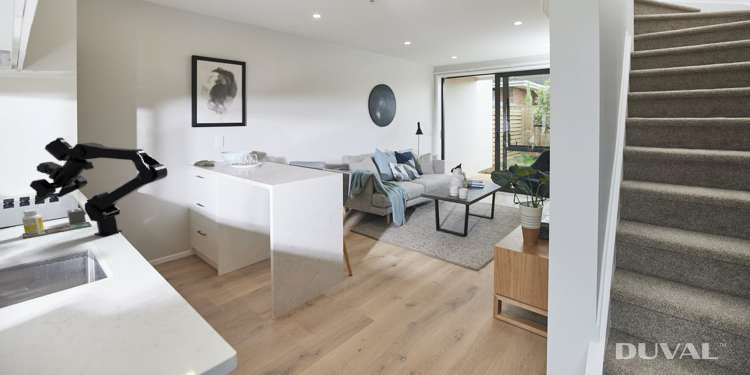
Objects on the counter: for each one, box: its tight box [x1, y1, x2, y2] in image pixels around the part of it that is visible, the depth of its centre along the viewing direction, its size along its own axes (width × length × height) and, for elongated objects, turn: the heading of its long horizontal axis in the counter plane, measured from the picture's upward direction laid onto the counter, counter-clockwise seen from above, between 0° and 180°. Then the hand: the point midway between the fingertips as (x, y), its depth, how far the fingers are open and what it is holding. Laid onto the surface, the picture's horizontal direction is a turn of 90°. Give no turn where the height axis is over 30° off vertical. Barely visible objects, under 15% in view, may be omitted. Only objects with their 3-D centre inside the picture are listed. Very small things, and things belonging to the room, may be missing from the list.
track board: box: [22, 221, 93, 240], centre depth 143 cm, size 20×7×1 cm, turn 135°
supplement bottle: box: [22, 208, 45, 237], centre depth 138 cm, size 5×5×10 cm
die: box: [66, 207, 87, 225], centre depth 154 cm, size 5×5×6 cm
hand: (48, 199), depth 136 cm, fingers open, 9 cm apart
